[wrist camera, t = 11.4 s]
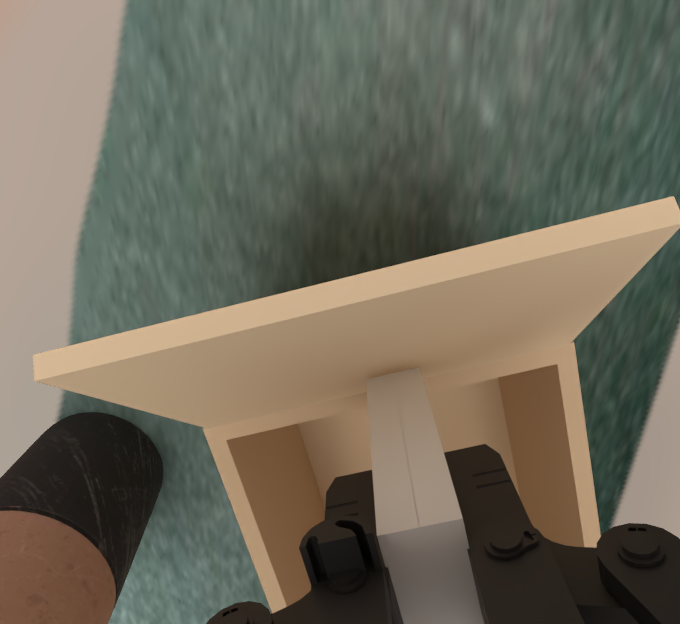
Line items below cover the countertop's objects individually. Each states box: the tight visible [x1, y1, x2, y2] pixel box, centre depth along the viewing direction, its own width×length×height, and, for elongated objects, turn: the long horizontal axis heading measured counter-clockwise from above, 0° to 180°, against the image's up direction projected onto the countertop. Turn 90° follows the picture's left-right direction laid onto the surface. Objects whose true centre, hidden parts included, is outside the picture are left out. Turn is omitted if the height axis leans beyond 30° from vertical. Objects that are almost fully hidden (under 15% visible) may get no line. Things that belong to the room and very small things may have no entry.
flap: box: [33, 196, 680, 429], centre depth 15 cm, size 9×12×1 cm
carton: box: [203, 341, 601, 613], centre depth 28 cm, size 18×12×12 cm, turn 14°
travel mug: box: [0, 413, 162, 624], centre depth 25 cm, size 8×8×20 cm
